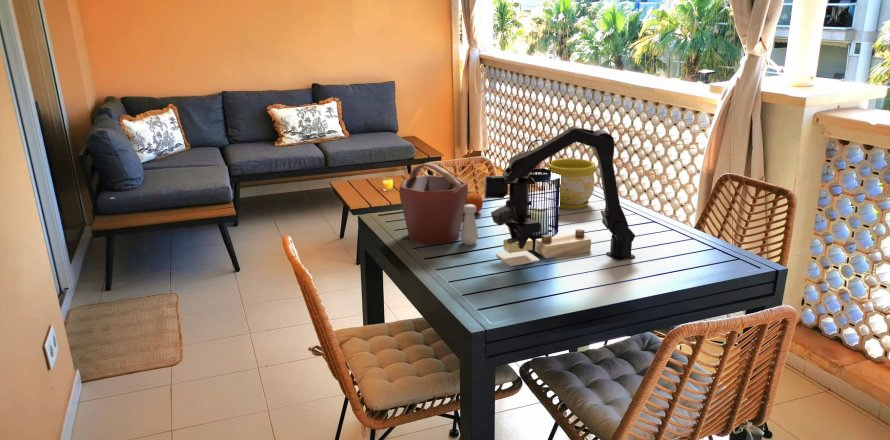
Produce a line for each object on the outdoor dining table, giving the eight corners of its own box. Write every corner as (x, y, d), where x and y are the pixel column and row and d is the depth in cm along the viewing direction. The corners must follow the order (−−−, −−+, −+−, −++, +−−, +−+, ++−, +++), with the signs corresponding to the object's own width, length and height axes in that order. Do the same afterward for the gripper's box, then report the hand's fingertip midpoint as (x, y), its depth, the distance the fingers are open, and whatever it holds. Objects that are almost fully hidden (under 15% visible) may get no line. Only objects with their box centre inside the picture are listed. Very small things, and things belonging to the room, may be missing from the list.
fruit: (468, 219, 254) (468, 198, 251) (449, 213, 261) (448, 192, 259) (488, 213, 261) (488, 192, 258) (469, 207, 268) (469, 187, 266)
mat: (539, 261, 212) (539, 259, 212) (510, 266, 209) (510, 264, 208) (524, 250, 221) (524, 249, 221) (496, 255, 217) (496, 253, 217)
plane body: (590, 251, 220) (591, 233, 218) (545, 258, 214) (546, 239, 213) (578, 244, 226) (579, 226, 224) (535, 251, 221) (535, 233, 219)
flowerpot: (597, 211, 260) (599, 168, 256) (549, 211, 261) (550, 169, 256) (589, 198, 278) (591, 158, 273) (543, 198, 278) (545, 158, 273)
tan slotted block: (532, 249, 213) (532, 238, 212) (509, 253, 211) (509, 241, 210) (526, 245, 217) (526, 234, 216) (503, 249, 214) (503, 237, 213)
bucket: (476, 243, 229) (476, 169, 221) (413, 252, 221) (411, 176, 213) (449, 222, 250) (448, 154, 243) (390, 230, 243) (387, 160, 235)
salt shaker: (476, 246, 226) (476, 208, 222) (459, 245, 227) (459, 207, 223) (479, 240, 231) (479, 203, 227) (462, 239, 232) (462, 202, 228)
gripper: (481, 193, 214) (481, 240, 219) (508, 208, 198) (507, 260, 203) (513, 189, 218) (513, 236, 223) (543, 204, 202) (541, 254, 206)
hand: (518, 246), depth 214 cm, fingers closed on tan slotted block, 4 cm apart
